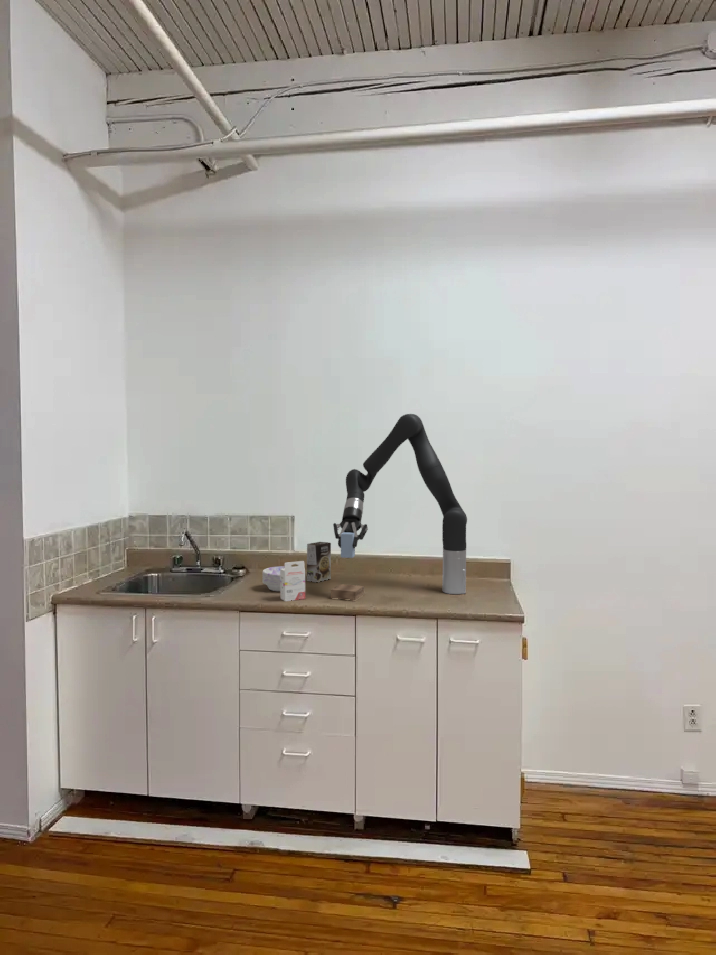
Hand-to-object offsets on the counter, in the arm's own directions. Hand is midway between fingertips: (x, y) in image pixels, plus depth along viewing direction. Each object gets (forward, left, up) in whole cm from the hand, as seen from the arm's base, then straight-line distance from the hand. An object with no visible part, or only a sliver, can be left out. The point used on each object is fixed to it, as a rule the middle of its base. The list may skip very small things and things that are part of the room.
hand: (347, 546), depth 256 cm
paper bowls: (+29, -10, -20) cm, 37 cm away
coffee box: (+18, -29, -20) cm, 40 cm away
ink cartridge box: (+20, +5, -20) cm, 29 cm away
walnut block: (0, -2, -20) cm, 20 cm away
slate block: (0, -2, -4) cm, 5 cm away
